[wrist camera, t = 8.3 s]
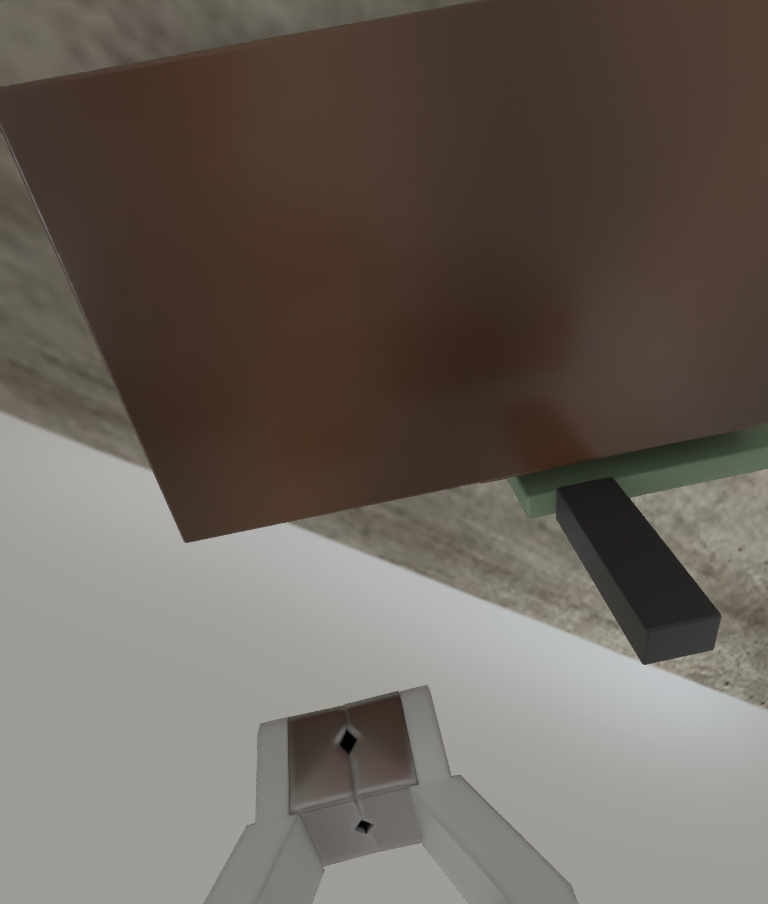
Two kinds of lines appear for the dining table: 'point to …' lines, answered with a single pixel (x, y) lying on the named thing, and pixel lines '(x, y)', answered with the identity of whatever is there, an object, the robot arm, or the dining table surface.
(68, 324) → the dining table surface
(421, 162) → the cupboard
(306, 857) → the robot arm
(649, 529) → the door
